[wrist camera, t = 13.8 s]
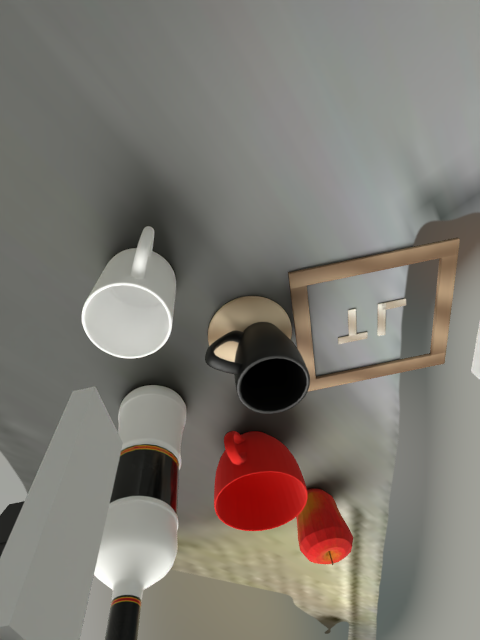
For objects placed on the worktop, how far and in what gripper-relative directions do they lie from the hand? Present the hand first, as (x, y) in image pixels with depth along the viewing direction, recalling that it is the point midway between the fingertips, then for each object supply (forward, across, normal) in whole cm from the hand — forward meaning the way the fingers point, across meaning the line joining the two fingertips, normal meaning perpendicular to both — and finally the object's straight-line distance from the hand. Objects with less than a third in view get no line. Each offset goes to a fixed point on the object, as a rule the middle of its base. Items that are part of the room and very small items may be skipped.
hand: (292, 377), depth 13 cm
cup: (+32, -11, -6) cm, 34 cm away
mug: (+31, -1, -18) cm, 36 cm away
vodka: (+32, -16, -27) cm, 45 cm away
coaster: (+32, 0, -18) cm, 36 cm away
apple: (+32, +5, -55) cm, 64 cm away
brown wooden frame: (+32, +16, -20) cm, 41 cm away
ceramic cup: (+32, -4, -37) cm, 49 cm away
